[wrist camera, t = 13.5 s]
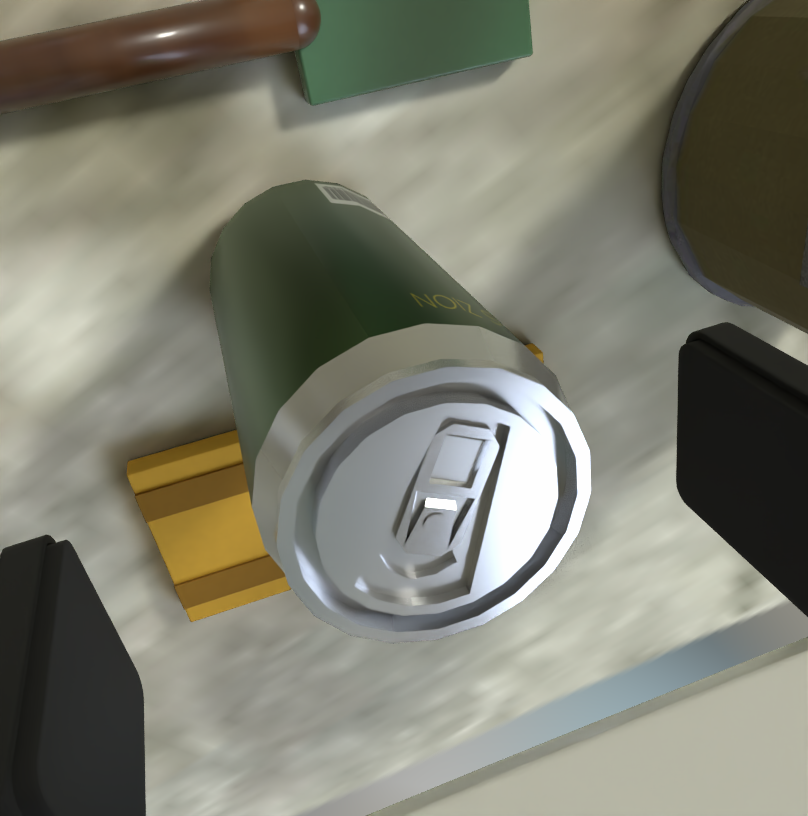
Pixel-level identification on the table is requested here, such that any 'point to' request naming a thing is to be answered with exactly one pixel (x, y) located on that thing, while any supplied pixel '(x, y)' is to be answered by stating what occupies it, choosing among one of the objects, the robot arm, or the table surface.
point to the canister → (745, 163)
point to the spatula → (268, 45)
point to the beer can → (388, 422)
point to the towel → (208, 523)
